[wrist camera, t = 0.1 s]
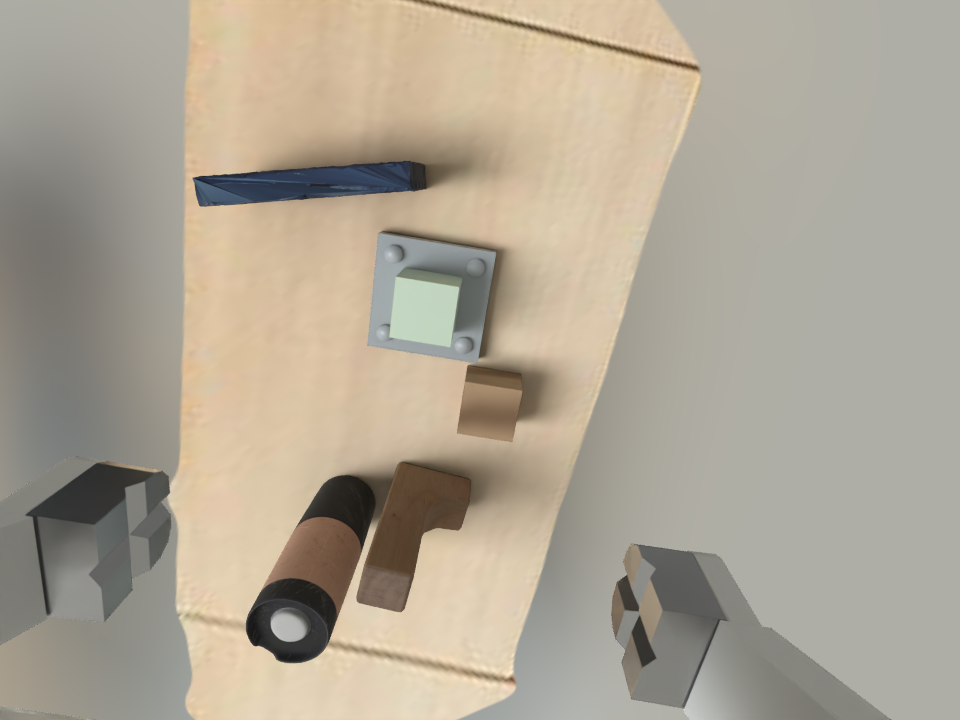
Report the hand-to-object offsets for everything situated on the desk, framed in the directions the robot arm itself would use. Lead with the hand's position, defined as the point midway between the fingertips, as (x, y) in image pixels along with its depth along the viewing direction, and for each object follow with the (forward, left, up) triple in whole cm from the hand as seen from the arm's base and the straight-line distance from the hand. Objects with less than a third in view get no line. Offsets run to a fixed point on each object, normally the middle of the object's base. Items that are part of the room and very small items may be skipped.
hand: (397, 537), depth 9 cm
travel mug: (+34, -11, -48) cm, 60 cm away
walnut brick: (+17, +4, -48) cm, 51 cm away
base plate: (+7, -4, -48) cm, 49 cm away
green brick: (+7, -4, -46) cm, 47 cm away
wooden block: (+30, -1, -48) cm, 57 cm away
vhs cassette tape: (-3, -15, -48) cm, 51 cm away
